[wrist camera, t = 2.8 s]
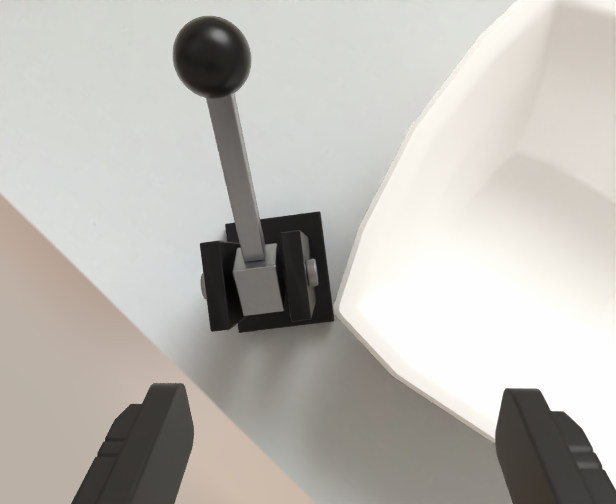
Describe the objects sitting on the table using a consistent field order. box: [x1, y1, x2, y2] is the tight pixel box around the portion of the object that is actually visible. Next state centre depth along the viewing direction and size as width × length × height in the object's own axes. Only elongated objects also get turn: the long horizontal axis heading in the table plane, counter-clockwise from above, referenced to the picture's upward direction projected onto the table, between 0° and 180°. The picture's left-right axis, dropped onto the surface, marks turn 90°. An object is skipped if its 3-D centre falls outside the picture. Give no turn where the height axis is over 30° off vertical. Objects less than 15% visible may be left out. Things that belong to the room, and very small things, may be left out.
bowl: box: [333, 0, 616, 489], centre depth 31 cm, size 24×25×11 cm
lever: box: [173, 16, 285, 316], centre depth 23 cm, size 14×3×3 cm, turn 7°
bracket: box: [200, 212, 334, 333], centre depth 30 cm, size 8×7×13 cm
